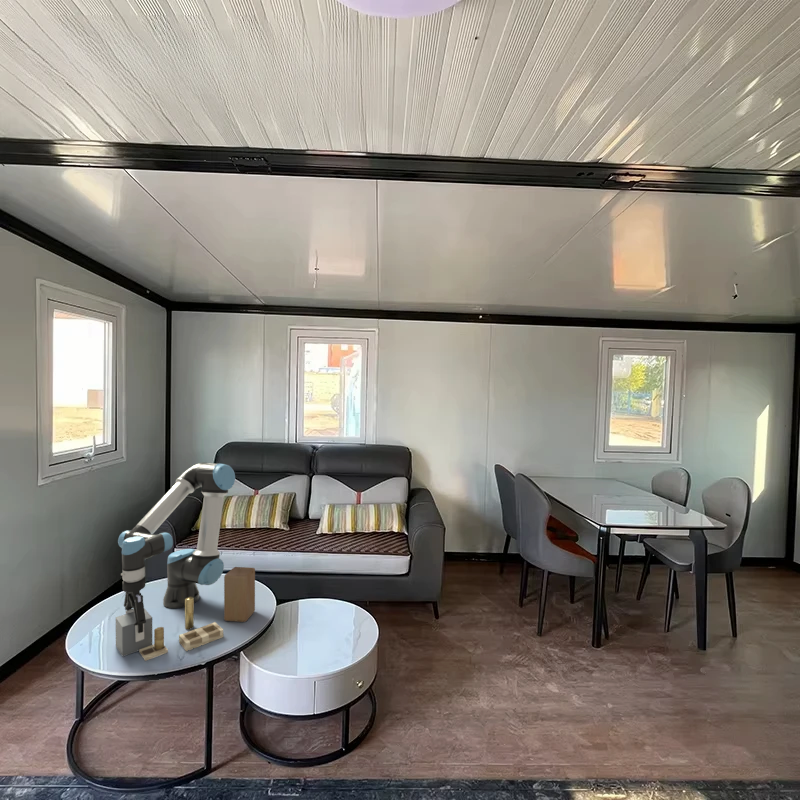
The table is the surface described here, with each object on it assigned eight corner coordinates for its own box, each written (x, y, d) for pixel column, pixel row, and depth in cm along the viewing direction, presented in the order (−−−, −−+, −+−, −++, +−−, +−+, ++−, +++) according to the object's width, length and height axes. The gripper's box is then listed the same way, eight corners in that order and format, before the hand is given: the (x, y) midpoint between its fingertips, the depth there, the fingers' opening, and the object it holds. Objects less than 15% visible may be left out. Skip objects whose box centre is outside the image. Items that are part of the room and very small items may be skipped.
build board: (179, 642, 172) (179, 635, 172) (215, 629, 182) (215, 622, 182) (186, 651, 166) (186, 643, 166) (223, 637, 176) (223, 629, 176)
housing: (115, 645, 170) (115, 617, 170) (144, 635, 177) (144, 608, 177) (122, 656, 163) (122, 627, 163) (152, 645, 170) (152, 617, 170)
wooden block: (255, 611, 197) (255, 566, 197) (245, 623, 187) (245, 576, 187) (234, 610, 198) (234, 565, 198) (223, 621, 188) (223, 575, 188)
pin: (183, 627, 183) (183, 598, 183) (191, 624, 186) (191, 596, 185) (186, 630, 181) (186, 601, 181) (194, 627, 183) (194, 598, 183)
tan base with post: (139, 652, 166) (139, 631, 166) (161, 644, 171) (161, 623, 171) (145, 660, 160) (145, 639, 160) (167, 652, 166) (167, 631, 166)
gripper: (114, 571, 176) (115, 624, 176) (131, 592, 158) (132, 650, 159) (135, 566, 181) (136, 617, 182) (154, 585, 163) (155, 642, 164)
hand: (134, 633), depth 170 cm, fingers open, 13 cm apart
